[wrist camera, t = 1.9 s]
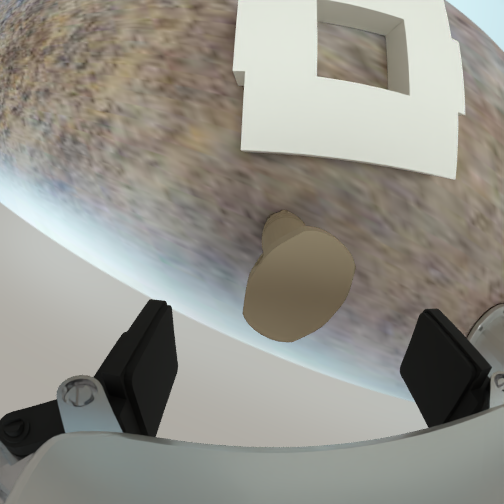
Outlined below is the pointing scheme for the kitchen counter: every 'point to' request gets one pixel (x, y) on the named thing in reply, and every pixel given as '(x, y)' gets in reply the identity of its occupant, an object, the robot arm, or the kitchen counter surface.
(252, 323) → the handle
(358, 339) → the kitchen counter surface
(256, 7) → the socket block
